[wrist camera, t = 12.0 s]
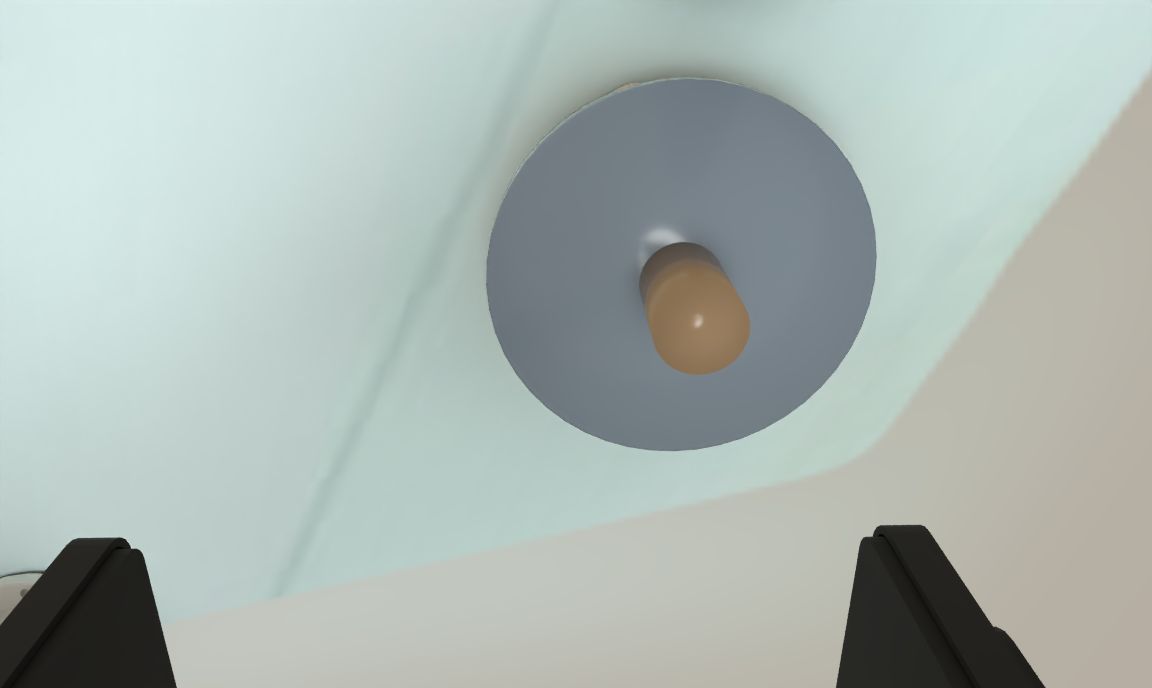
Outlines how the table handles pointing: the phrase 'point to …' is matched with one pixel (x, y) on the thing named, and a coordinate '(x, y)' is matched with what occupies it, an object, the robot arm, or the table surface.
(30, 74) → the table surface
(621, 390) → the lid
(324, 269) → the table surface
